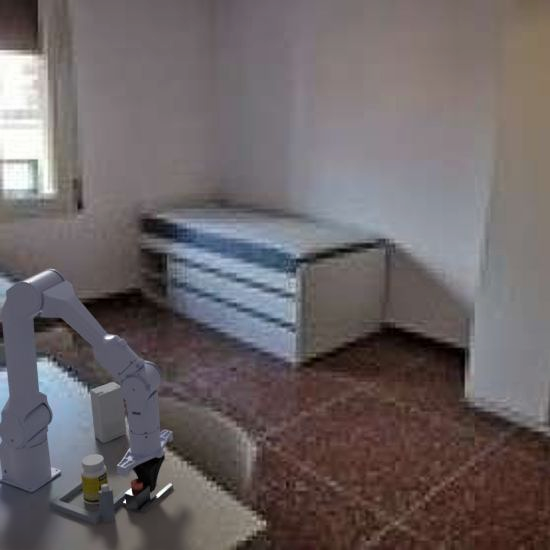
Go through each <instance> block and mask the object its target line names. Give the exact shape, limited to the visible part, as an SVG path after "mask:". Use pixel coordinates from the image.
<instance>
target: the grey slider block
mask: <svg viewBox="0 0 550 550" xmlns="http://www.w3.org/2000/svg"><path fill="white" fill-rule="evenodd" d="M130 487H131V488H129V490H128V491H127V492H126V493H125V498H126V506H125V507H126V508H125V509H126V510H128V511H130V512H133V513H136V514H138V513H140V512H141V508H142V507H143V506H144V505H145V504H146V503H147V502H149V501H150V500H151V499H152V498H151V493H150V486H149V485H146V484H143V480H142V479H138V478H134V479H132V480H131V481H130Z"/></svg>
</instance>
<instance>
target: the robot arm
mask: <svg viewBox="0 0 550 550" xmlns="http://www.w3.org/2000/svg"><path fill="white" fill-rule="evenodd" d="M5 296H6V297H5V301H4V303H3V306H2V308H1V324H2V334H3V344H4V345H3V346H4V353H5V354H4V356H5V364H6V375H7V385H8V394H9V397H8V399H7V401H6V402H5V405H4V406H3V408H2V410H1V412H0V414H1V419H0V420H1V421H0V439H1V441H0V469H1V470H0V471H1V476H0V482H1V483H5V484H8V485H10V486H13V487H17V488H19V489H22V490H24V491H28V492H30V493H33V492H36V491H37V490H39V489H40V488H41V487H43V486H44V485H46V483H49V482H50V481H51V480H53V479H54V478H56V477H57V476H58V475H60V474H61V473H62V470H61V469H58V468H56V467H53V466H51V465H52V463H51V459H50V458H51V457H50V449H49V439H48V432H49V425H50V424H51V422H52V421H53V418H54V417H53V414H54V413H53V411H52V408H51V406H50V404H49V402H48V401H49V400H48V395H47V394H45V393H43V392H41V391H40V386H39V383H40V382H39V375H38V363H37V362H38V361H37V360H38V359H37V350H36V349H37V348H36V336H35V335H36V334H35V328H34V327H35V325H34V319H35V317H36V316H37V315H38V314H39V313H40V312H41V313H40V315H39V316H40V317H41V318H53V319H55V318H56V319H62V320H63V321H64V322H66V324H67V325H69V326H70V327H71V328H72V329H73V330H74V331H75V332H76V333H77V334H79V336H81V337H82V338H83V339H84V340H85V341H86V342H87V343H88V344H90V345H91V346H92V347H93V357H94V359H96V360H97V361H98V363H99V364H100V365H101V366H102V367H103V368H104V369H105V370H106V371H108V373H109V374H110V375H111V376H112V377H113V378H114V379H115V380H116V381H117V382H118V383H119V385H120V387H119V390H120V393H121V395H122V397H123V400H124V401H125V403H126V408H127V411H126V412H127V421H128V435H129V437H128V438H129V448H128V450H127V452H126V453H125V455H124V456H123V458H122V460H121V461H120V462H119V463H118V464H116V473H117V475H119V476H120V477H124V478H127V477H128V476H129V475H130V471H133V472H134V474H135V475H136V477H137V479H142V480H143V484H146V485H149V486H150V494H152V493H153V492H154V491H156V486H157V481H158V476H159V473H160V471H161V467H162V465H163V463H164V461H165V459H166V455H165V454H166V449H164V448H165V446H166V444H168V443H171V442H172V441H174V436H173V435H174V434H173V433H174V432H173V431H172V430H169V429H163V430H162V431H161V424H160V423H161V422H160V409H159V407H160V406H159V405H160V404H159V394H158V390H157V389H158V388H159V387H160V385H161V384H162V380H163V376H162V372H161V370H160V369H159V367H158V366H157V364H156V363H155V362H152V361H150V360H145V359H144V358H141V357H139V356H138V355H137V354H136V352H135V351H134V350H133V349H132V348H130V346H129V345H128V342H127V341H126V340H125V338H123V337H122V338H121V337H120V336H119V335H117V334H110V333H108V332H107V331H106V330H105V329H104V328H103V326H102V325H101V324H100V323H99V322H98V320H97V319H96V318H95V317H94V316H93V315H92V313H91V312H90V311H89V310H88V309H87V307H86V306H85V305H84V304H83V303H82V302H81V300H80V299H79V297H77V296H76V294H75V290H74V286H73V284H72V283H71V282H70V281H68V280H66V278H65V276H64V274H63V273H62V272H60V271H59V270H58V269H53V268H46V269H43V270H41V271H40V272H39V273H36V274H34V275H33V276H30V277H28V278H26V279H24V280H20V281H18V282H16V283H14V284H13V285H12V286H10V287H9V288H8V289H7V290H6V291H5Z"/></svg>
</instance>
